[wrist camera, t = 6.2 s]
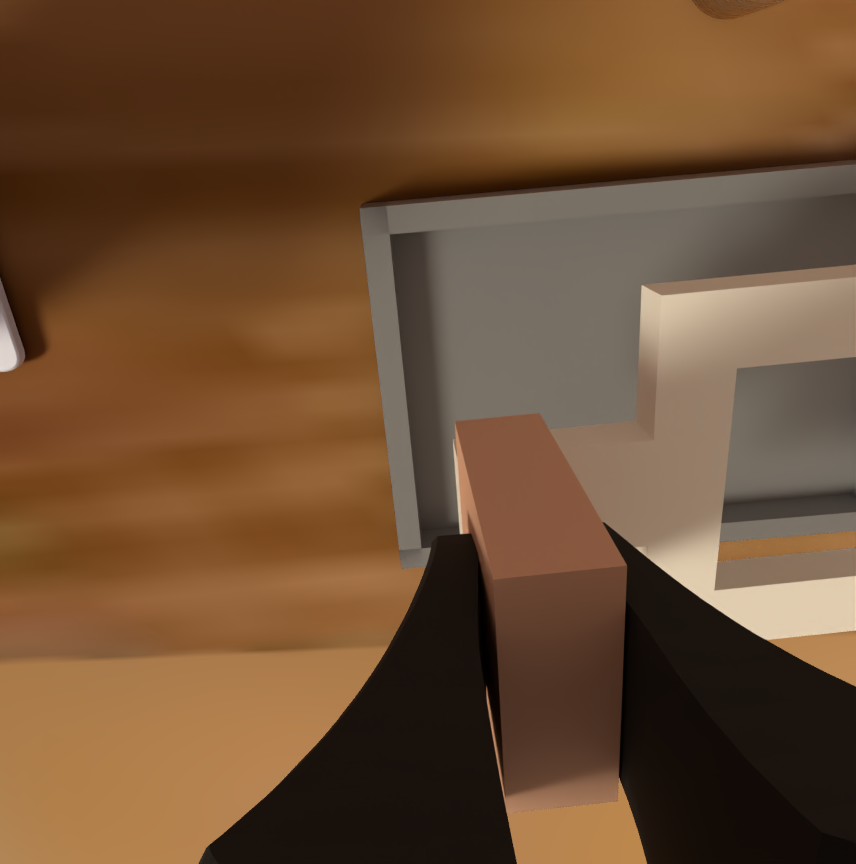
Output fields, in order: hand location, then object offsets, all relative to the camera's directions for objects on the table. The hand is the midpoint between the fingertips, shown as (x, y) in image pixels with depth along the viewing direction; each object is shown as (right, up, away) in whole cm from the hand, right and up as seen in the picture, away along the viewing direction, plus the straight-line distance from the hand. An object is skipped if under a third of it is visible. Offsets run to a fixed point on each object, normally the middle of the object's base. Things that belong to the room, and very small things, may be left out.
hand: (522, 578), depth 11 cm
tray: (+5, +4, +9) cm, 11 cm away
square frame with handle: (+5, +2, +3) cm, 6 cm away
